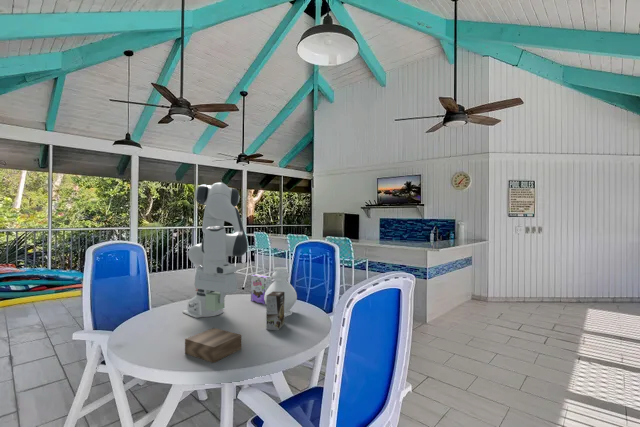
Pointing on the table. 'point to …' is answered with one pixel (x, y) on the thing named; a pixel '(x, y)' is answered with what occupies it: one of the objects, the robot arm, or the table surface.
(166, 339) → the table surface
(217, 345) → the walnut block
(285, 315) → the decorative vase
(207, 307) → the sage block
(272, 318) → the coffee box
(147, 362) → the table surface
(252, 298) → the candy box
